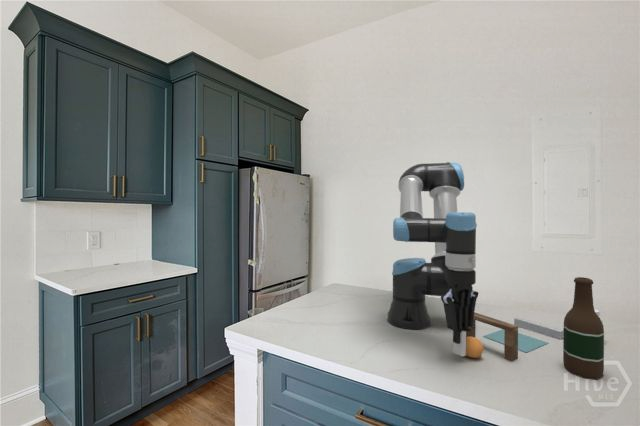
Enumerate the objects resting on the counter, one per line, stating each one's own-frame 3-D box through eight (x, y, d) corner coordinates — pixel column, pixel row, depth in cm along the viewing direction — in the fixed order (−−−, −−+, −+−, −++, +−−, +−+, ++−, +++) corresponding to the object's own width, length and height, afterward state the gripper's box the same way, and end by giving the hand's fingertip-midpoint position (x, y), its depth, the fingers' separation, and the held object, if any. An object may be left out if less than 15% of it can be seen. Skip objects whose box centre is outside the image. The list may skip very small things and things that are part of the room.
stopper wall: (514, 325, 108) (514, 318, 108) (517, 324, 109) (517, 317, 109) (560, 339, 96) (560, 331, 96) (563, 338, 97) (563, 330, 97)
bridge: (511, 361, 82) (512, 327, 82) (463, 341, 94) (463, 312, 94) (517, 358, 83) (518, 325, 83) (469, 339, 96) (469, 310, 96)
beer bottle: (555, 364, 80) (556, 275, 80) (582, 363, 81) (582, 274, 81) (583, 381, 72) (584, 282, 72) (612, 379, 73) (613, 281, 73)
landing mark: (483, 336, 98) (483, 336, 98) (505, 329, 104) (505, 328, 104) (526, 352, 87) (526, 352, 87) (548, 343, 93) (548, 342, 93)
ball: (466, 329, 87) (472, 343, 88) (454, 342, 85) (461, 356, 86) (483, 336, 82) (490, 351, 84) (471, 350, 80) (478, 365, 82)
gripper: (456, 273, 76) (456, 366, 76) (487, 268, 82) (487, 354, 82) (432, 268, 82) (432, 353, 82) (463, 264, 88) (462, 343, 89)
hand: (459, 353), depth 82 cm, fingers closed
